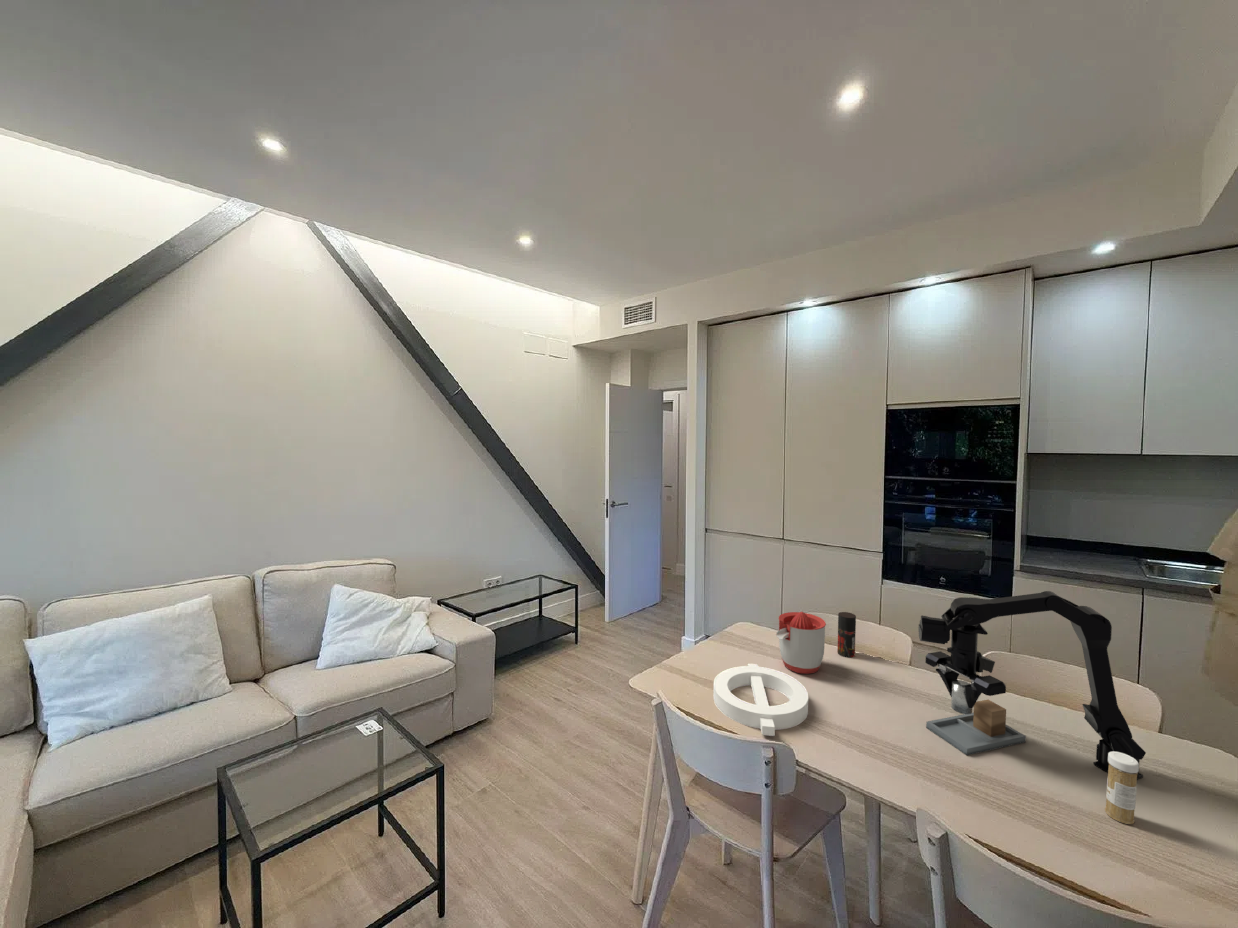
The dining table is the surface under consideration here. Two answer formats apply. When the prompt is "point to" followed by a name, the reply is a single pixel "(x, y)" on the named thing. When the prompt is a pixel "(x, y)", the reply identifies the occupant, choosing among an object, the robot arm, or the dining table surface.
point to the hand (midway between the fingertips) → (962, 702)
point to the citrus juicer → (801, 641)
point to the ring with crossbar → (761, 698)
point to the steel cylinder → (960, 697)
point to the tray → (972, 735)
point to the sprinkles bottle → (1121, 787)
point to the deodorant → (846, 634)
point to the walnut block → (989, 718)
